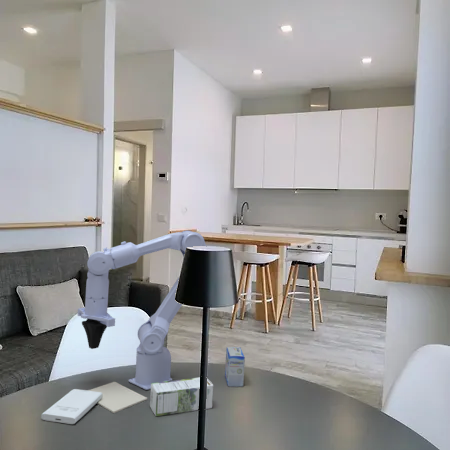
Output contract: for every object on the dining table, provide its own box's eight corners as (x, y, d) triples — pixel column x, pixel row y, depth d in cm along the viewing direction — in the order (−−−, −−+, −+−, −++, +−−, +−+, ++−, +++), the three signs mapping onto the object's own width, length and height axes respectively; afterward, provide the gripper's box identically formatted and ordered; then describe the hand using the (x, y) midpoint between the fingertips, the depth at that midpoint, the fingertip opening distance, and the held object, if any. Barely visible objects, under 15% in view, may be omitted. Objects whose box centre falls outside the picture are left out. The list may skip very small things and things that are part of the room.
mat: (114, 383, 112) (114, 381, 112) (147, 399, 103) (147, 398, 103) (81, 394, 104) (81, 392, 104) (113, 413, 95) (113, 411, 95)
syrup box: (149, 406, 99) (204, 397, 105) (155, 417, 94) (213, 407, 100) (150, 382, 99) (205, 375, 105) (156, 392, 94) (214, 384, 100)
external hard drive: (102, 398, 101) (74, 424, 89) (72, 394, 103) (41, 419, 90) (102, 392, 101) (74, 417, 89) (72, 388, 103) (41, 412, 90)
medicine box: (224, 375, 121) (226, 346, 120) (239, 375, 121) (240, 346, 121) (227, 387, 113) (229, 355, 113) (243, 387, 113) (245, 356, 113)
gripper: (68, 293, 110) (65, 343, 110) (99, 303, 101) (96, 358, 101) (91, 291, 115) (88, 338, 116) (123, 300, 106) (119, 352, 106)
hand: (93, 347), depth 109 cm, fingers closed
